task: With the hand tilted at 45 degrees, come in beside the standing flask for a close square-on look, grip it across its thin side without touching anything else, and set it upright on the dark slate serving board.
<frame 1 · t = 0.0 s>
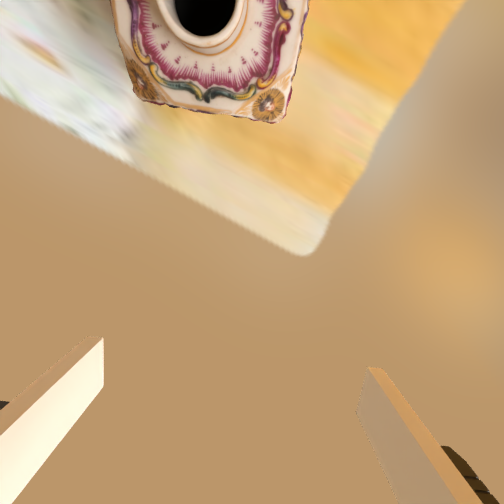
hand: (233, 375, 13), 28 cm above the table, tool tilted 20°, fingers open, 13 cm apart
decorative jar: (235, 47, 28), on the table
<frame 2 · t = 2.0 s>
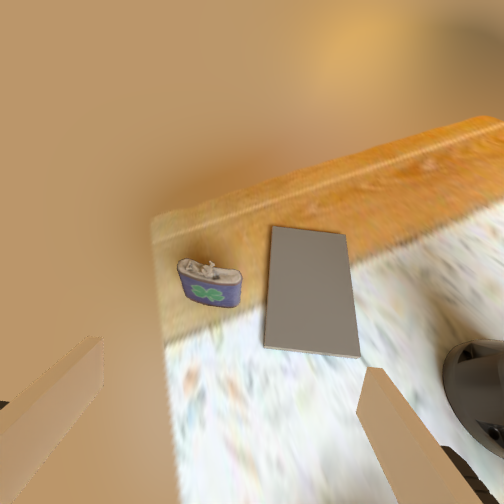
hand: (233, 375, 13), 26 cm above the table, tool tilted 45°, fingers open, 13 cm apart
flask: (212, 297, 42), on the table
slate board: (308, 286, 44), on the table
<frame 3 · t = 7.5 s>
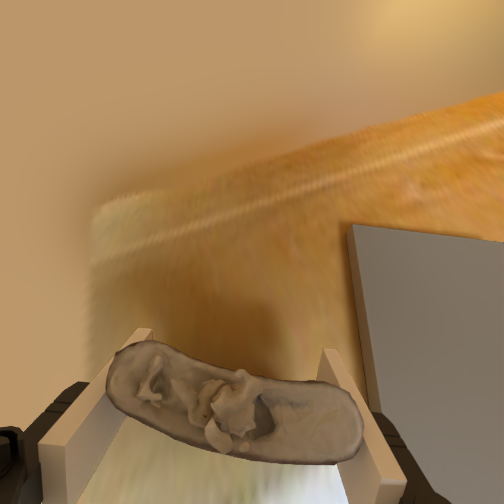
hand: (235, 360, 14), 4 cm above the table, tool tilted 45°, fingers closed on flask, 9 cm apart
flask: (229, 409, 16), on the table, touching gripper
slate board: (458, 367, 19), on the table
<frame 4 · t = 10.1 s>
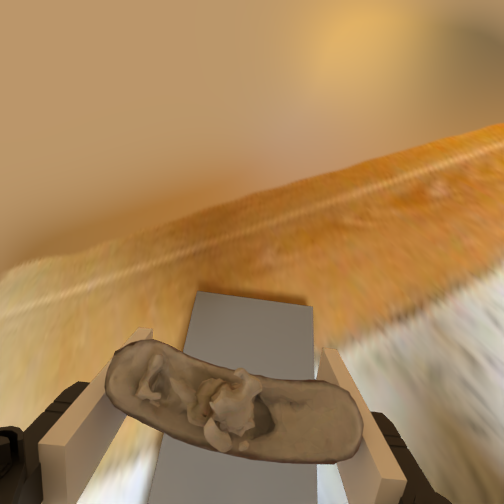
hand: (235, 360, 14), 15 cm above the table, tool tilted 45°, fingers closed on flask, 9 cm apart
flask: (228, 408, 16), point 11 cm above the table, touching gripper
slate board: (243, 405, 26), on the table
when the fingers open (7 cm above the table, at t = 12.5 s): flask drops 1 cm, resting on slate board.
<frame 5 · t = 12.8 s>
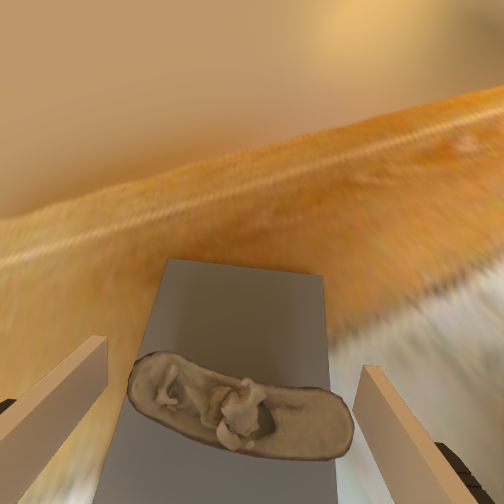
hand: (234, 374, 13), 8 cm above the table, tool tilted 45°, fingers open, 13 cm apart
flask: (232, 410, 17), point 1 cm above the table, touching slate board
slate board: (229, 409, 19), on the table
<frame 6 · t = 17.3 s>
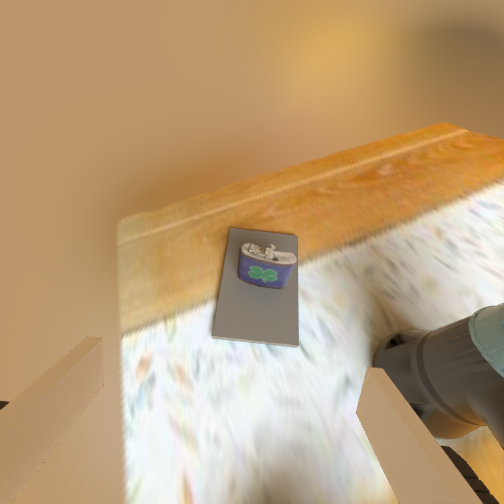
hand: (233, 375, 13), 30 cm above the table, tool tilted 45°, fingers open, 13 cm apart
flask: (261, 280, 47), point 1 cm above the table, touching slate board
slate board: (259, 282, 48), on the table
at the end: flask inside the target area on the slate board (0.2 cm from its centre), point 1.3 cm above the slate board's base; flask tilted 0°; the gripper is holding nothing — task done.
